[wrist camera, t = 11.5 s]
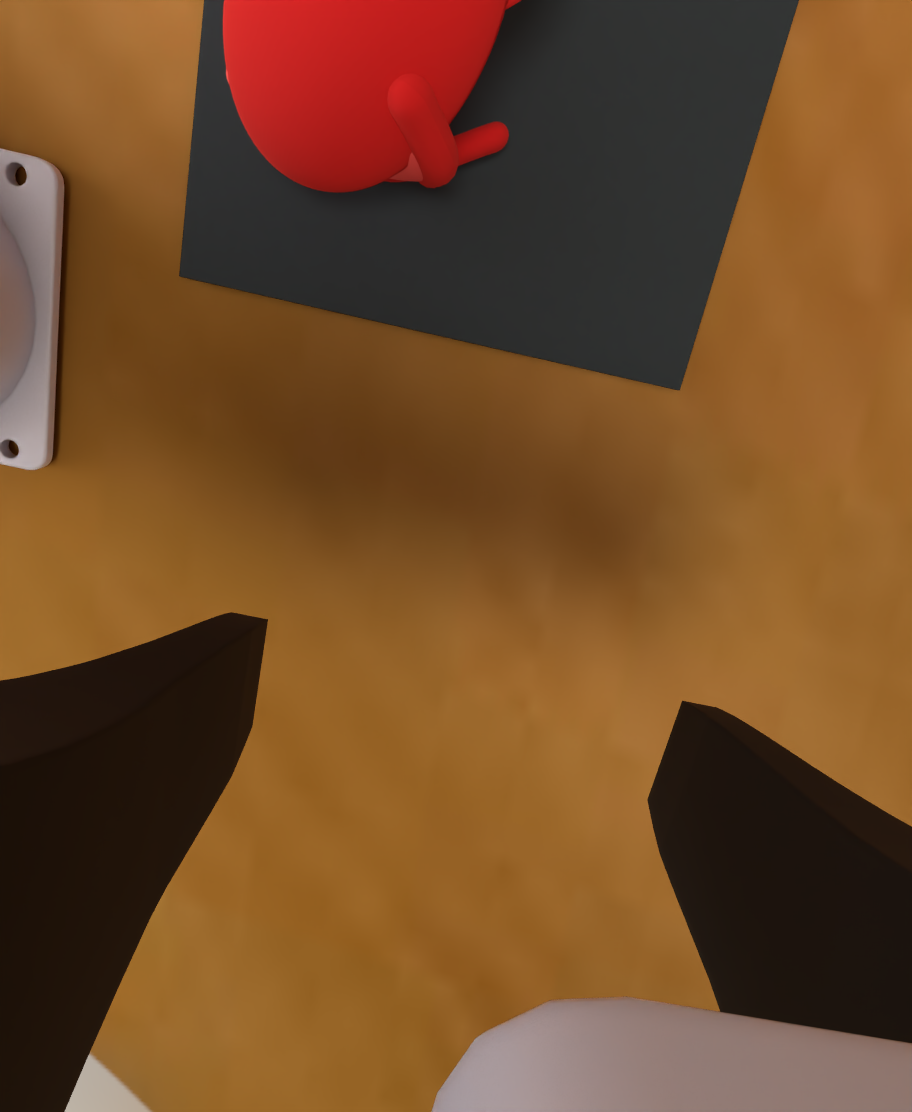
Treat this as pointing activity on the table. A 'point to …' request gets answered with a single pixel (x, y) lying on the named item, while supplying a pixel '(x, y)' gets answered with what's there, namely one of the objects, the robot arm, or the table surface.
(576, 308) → the mat
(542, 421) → the table surface
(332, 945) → the table surface
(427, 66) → the red rounded lobed lump
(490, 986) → the table surface
